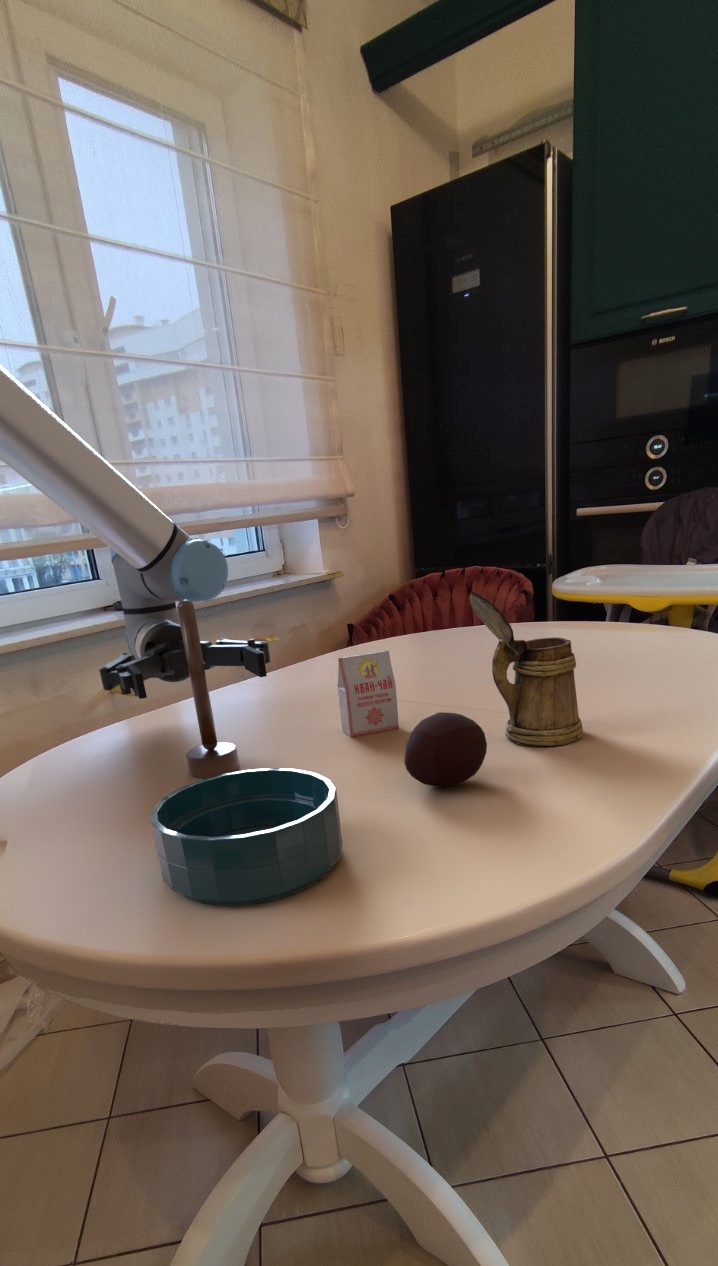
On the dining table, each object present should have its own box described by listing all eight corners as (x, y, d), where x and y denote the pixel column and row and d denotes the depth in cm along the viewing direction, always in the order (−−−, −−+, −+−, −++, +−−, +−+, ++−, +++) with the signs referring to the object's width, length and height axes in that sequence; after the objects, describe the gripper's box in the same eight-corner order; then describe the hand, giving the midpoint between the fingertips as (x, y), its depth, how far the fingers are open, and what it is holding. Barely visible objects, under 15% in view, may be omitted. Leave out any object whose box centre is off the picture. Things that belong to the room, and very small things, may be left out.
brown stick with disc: (179, 777, 85) (145, 604, 78) (206, 760, 91) (176, 597, 83) (223, 779, 83) (192, 602, 76) (248, 761, 88) (221, 594, 81)
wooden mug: (459, 738, 89) (453, 588, 83) (557, 720, 92) (559, 574, 86) (491, 759, 81) (487, 594, 75) (597, 738, 84) (603, 578, 78)
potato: (506, 783, 74) (505, 710, 71) (434, 808, 70) (429, 731, 67) (457, 765, 80) (454, 697, 78) (387, 786, 76) (381, 716, 73)
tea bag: (342, 730, 97) (334, 655, 94) (389, 721, 99) (383, 648, 95) (350, 736, 94) (342, 660, 90) (398, 728, 96) (393, 652, 92)
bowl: (127, 900, 58) (110, 832, 56) (222, 823, 71) (212, 765, 69) (298, 920, 53) (287, 846, 51) (367, 832, 66) (361, 771, 64)
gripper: (259, 663, 104) (312, 688, 86) (78, 694, 95) (94, 730, 77) (252, 609, 101) (304, 624, 83) (64, 636, 92) (77, 659, 74)
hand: (203, 675), depth 80 cm, fingers open, 13 cm apart
